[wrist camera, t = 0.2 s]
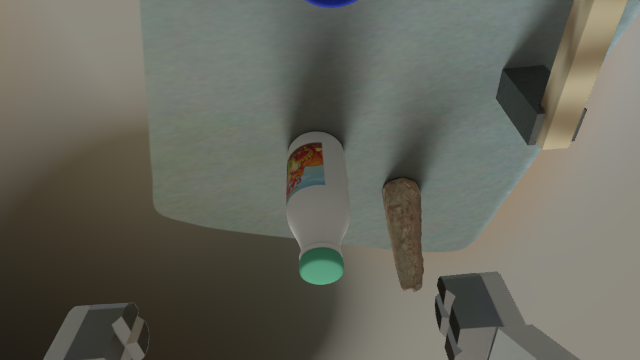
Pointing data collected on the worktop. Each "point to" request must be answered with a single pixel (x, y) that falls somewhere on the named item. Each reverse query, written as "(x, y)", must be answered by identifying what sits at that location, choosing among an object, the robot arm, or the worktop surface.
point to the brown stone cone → (405, 230)
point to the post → (526, 100)
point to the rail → (577, 68)
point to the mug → (331, 3)
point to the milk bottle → (318, 204)
